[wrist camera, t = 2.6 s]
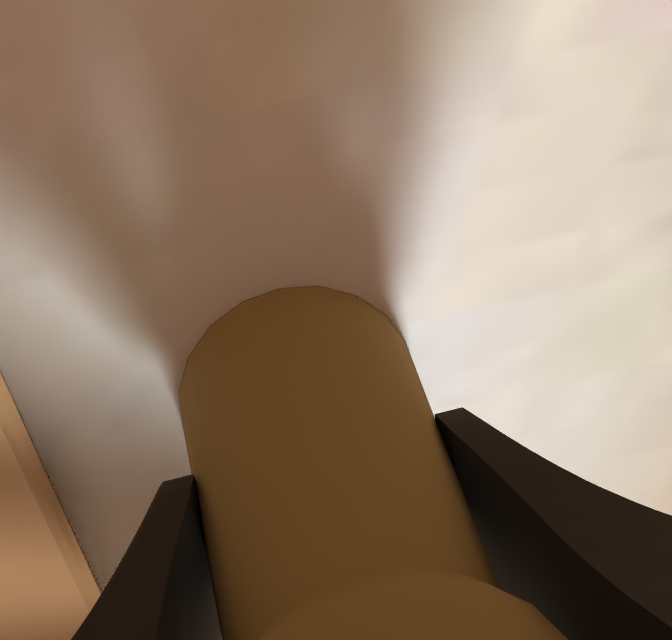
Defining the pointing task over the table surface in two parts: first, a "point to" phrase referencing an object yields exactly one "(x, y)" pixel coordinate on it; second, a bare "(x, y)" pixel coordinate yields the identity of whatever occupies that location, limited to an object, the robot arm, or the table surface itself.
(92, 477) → the table surface
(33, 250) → the table surface
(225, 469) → the cork
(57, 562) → the shelf board
